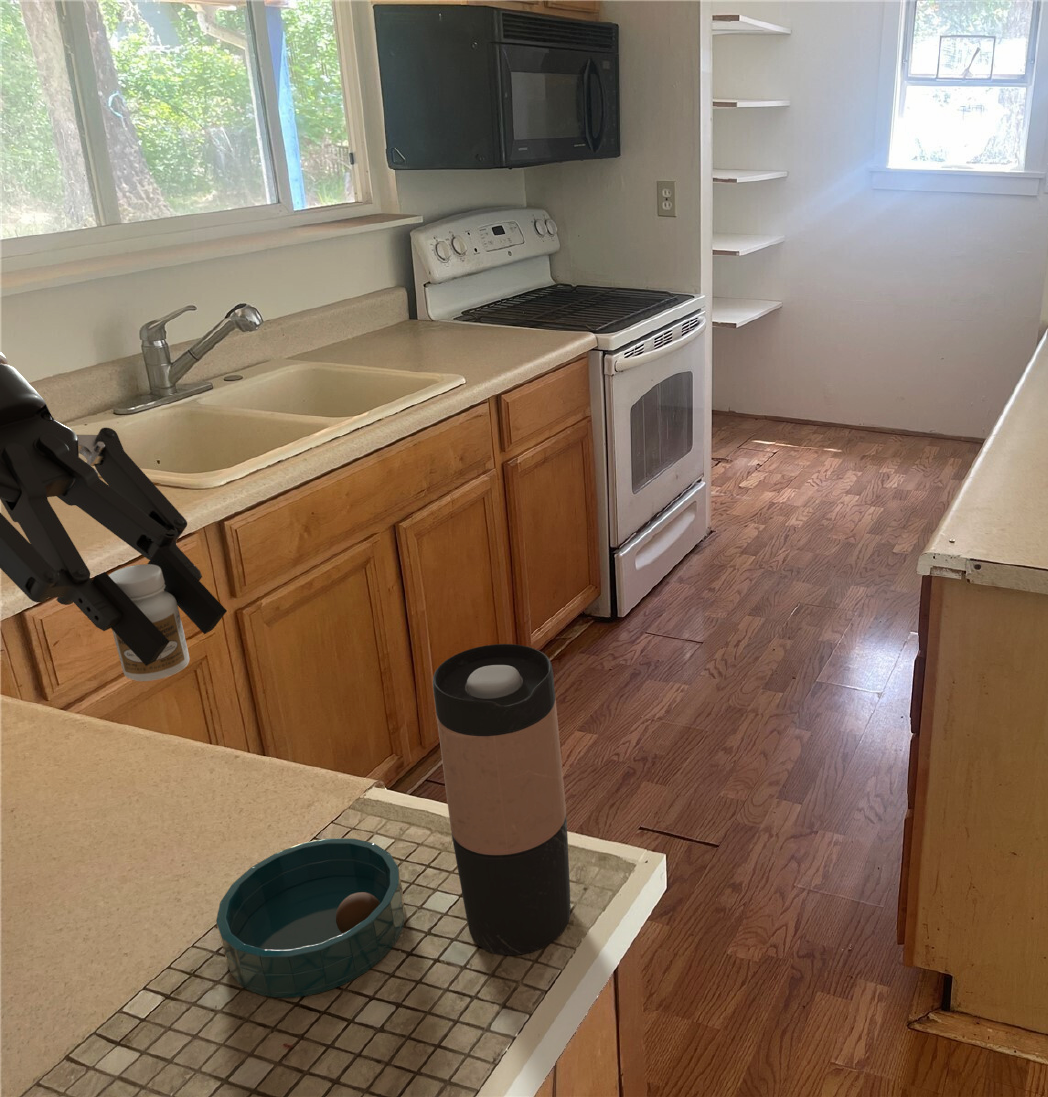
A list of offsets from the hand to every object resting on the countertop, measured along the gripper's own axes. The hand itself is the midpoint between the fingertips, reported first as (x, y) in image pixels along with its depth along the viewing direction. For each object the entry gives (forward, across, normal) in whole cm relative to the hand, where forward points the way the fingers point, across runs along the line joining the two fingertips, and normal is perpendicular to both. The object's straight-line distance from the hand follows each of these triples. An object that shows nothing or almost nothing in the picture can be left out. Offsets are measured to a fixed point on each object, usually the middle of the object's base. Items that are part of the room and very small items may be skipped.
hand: (187, 637), depth 74 cm
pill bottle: (0, 0, -5) cm, 5 cm away
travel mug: (+31, 0, +5) cm, 31 cm away
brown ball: (+23, +5, 0) cm, 23 cm away
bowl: (+22, +6, -4) cm, 23 cm away
